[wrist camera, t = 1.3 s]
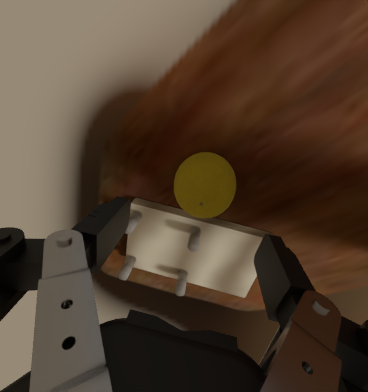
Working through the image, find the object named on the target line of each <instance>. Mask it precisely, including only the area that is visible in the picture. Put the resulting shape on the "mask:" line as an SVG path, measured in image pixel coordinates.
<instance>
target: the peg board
mask: <svg viewBox="0 0 368 392" xmlns="http://www.w3.org/2000/svg"><path fill="white" fill-rule="evenodd" d="M125 233H126V234H128V239H127V249H126V259H125V263H124V265H123V267H122V268H121V270H120V272H119V274H118V277H119V278H120V279H121V280H126V279H127V278H128V276H129V274H130V272H131V270H132V268H133V267H135V268H139V269H142V270H146V271H149V272H153V273H157V274H160V275H164V276H167V277H171V278H175V279H177V284H176V288H175V294H176V295H178V296H183V295H184V294H185V288H186V282H189V283H193V284H196V285H200V286H204V287H207V288H211V289H214V290H218V291H222V292H225V293H229V294H233V295H236V296H240V297H243V298H245V297H246V295H247V293H248V291H249V289H250V287H251V286H252V284H253V282H254V280H255V278H256V276H257V273H256V270H255V266H254V256H255V253H256V251H257V249H258V247H259V245H260V243H261V241H262V239H263V237H264V235H265V234H271V235H273V234H272V233H270V232H266V231H262V230H258V229H255V228H251V227H247V226H243V225H239V224H235V223H232V222H228V221H224V220H220V219H216V218H197V217H194V216H191V215H190V214H188V213H186V212H185V211H184V210H182V209H178V208H174V207H170V206H166V205H162V204H159V203H155V202H151V201H147V200H143V199H139V198H135V199H134V200H133V201H132V203H131V209H130V217H129V224H128V227H127V230H126V232H125Z"/></svg>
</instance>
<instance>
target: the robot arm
mask: <svg viewBox="0 0 368 392" xmlns="http://www.w3.org/2000/svg"><path fill="white" fill-rule="evenodd" d="M130 205H131V201H130V199H126V198H122V197H118V196H117V197H116V198H115V199H114V200H113V201H112V202H111V203H107V202H106V203H103V204H101V205H98V206H97V207H96V208H95V209H94V210H93V211H92V212H90V213H89V214H88V216H86V217H84V218H83V219H82V220H81V221H80V222H79V223H78V224H76V225H75V226H74V227H73V228H72V229H71V230H61V231H57V232H54V233H52V234H51V235H49V236H48V237H47V238H46V239H25V236H24V232H23V231H22V230H20V229H18V228H0V321H1V320H2V319H3V318H4V317H5V316H6V314H7V313H8V312H9V311H10V310H11V309H12V308H13V307H14V305H16V303H17V302H18V301H19V300H20V299H21V298H22V297H23V296H24V294H26V292H27V291H29V290H38V292H37V304H36V317H35V328H34V341H33V353H32V366H31V371H29V372H28V373H26V374H25V375H23V376H22V377H21V378H19V379H18V380H16V381H15V382H13V383H12V384H10V385H9V386H7V387H6V388H4V389H3V390H1V391H0V392H368V320H367V321H365V322H364V323H363V324H362V325H359V324H356V323H355V322H352V321H351V320H348V319H347V318H345V317H343V316H341V314H340V311H339V310H338V308H337V307H336V306H335V305H334V303H333V302H331V301H330V300H329V299H328V298H327V297H325V296H324V295H322V294H320V293H318V292H316V291H315V289H314V287H313V285H312V284H311V282H310V280H309V278H308V276H307V275H306V273H305V271H304V270H303V268H302V266H301V264H300V262H299V260H298V259H297V257H296V255H295V254H294V253H293V252H292V251H291V250H290V249H289V248H287V247H286V246H285V244H284V242H283V240H282V238H281V237H279V236H275V235H271V234H265V235H264V237H263V239H262V241H261V243H260V245H259V247H258V249H257V251H256V253H255V256H254V266H255V270H256V273H257V277H258V281H259V285H260V288H261V292H262V296H263V300H264V303H265V307H266V311H267V315H268V318H269V320H273V321H277V322H279V324H280V327H279V328H278V330H277V332H276V333H275V335H274V337H273V339H272V341H271V343H270V345H269V347H268V349H267V350H266V352H265V354H264V356H263V358H262V360H261V362H260V364H259V365H258V364H257V363H256V362H255V361H254V360H253V359H252V358H251V357H250V356H248V355H247V354H246V353H245V352H243V351H242V350H240V349H239V348H238V346H237V338H236V337H234V336H230V335H226V334H222V333H219V332H215V331H211V330H207V331H206V330H204V331H203V330H201V331H182V330H180V329H178V328H176V327H174V326H173V325H171V324H169V323H167V322H166V321H164V320H162V319H160V318H159V317H157V316H153V315H150V314H146V313H143V312H139V311H135V310H130V312H129V314H128V317H127V318H121V319H115V320H111V321H108V322H105V323H103V324H100V325H99V320H98V315H97V309H96V303H95V297H94V291H93V285H92V280H91V274H90V272H91V273H95V274H97V273H98V271H99V270H100V268H101V267H102V265H103V264H104V262H105V261H106V260H107V258H108V257H109V255H110V254H111V252H112V251H113V249H114V248H115V246H116V245H117V243H118V242H119V241H120V239H121V238H122V236H123V235H124V233H125V232H126V230H127V227H128V224H129V216H130Z"/></svg>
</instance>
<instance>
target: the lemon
mask: <svg viewBox="0 0 368 392" xmlns="http://www.w3.org/2000/svg"><path fill="white" fill-rule="evenodd" d="M235 191H236V177H235V174H234V171H233V169H232V167H231V166H230V164H229V163H228V162H227V161H226V160H225V159H224V158H223V157H221V156H219V155H217V154H215V153H210V152H200V153H197V154H194V155H192V156H190V157H189V158H187V159H186V160H185V161H184V162H183V163H182V164H181V165H180V167H179V168H178V170H177V172H176V175H175V179H174V193H175V197H176V200H177V202H178V203H179V205H180V207H181V208H182V209H183V210H184V211H185V212H186V213H188V214H190V215H191V216H194V217H197V218H212V217H215V216H218V215H219V214H221V213H222V212H224V211H225V210H226V209H227V208H228V207H229V205H230V204H231V202H232V200H233V198H234V195H235Z"/></svg>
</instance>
